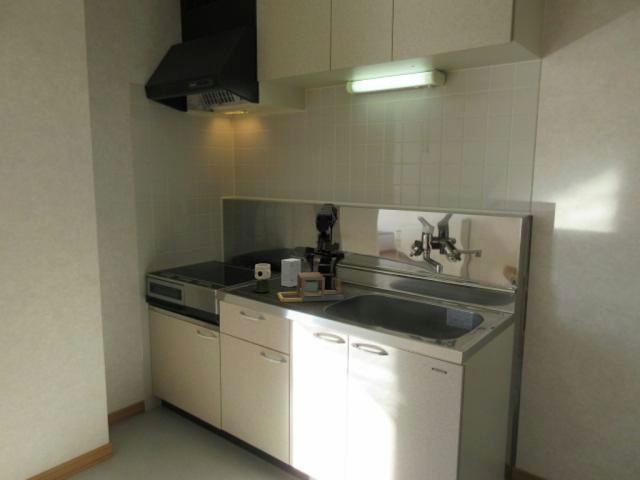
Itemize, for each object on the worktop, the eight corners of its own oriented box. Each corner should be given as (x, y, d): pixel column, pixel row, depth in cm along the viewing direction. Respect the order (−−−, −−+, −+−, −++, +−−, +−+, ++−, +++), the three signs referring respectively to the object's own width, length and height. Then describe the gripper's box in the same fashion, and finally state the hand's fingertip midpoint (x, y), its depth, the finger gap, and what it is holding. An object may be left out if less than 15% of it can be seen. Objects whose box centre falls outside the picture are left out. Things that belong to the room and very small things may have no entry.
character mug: (249, 291, 219) (249, 264, 217) (260, 288, 224) (261, 262, 223) (264, 295, 212) (264, 267, 210) (275, 292, 217) (276, 265, 215)
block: (303, 290, 211) (304, 279, 210) (314, 290, 212) (314, 279, 211) (306, 293, 206) (306, 282, 205) (317, 292, 207) (317, 281, 206)
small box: (292, 282, 239) (292, 257, 238) (301, 284, 235) (301, 259, 234) (280, 285, 233) (281, 259, 232) (289, 287, 229) (290, 261, 228)
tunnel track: (277, 295, 212) (277, 273, 210) (336, 293, 218) (337, 271, 217) (281, 302, 200) (282, 278, 199) (343, 299, 207) (344, 276, 206)
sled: (299, 292, 212) (300, 278, 211) (337, 290, 216) (338, 277, 215) (303, 296, 204) (303, 282, 203) (342, 294, 209) (342, 281, 208)
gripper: (311, 231, 194) (308, 267, 189) (351, 238, 200) (349, 273, 196) (301, 236, 204) (299, 271, 199) (340, 243, 210) (338, 277, 206)
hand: (322, 273), depth 200 cm, fingers open, 9 cm apart
